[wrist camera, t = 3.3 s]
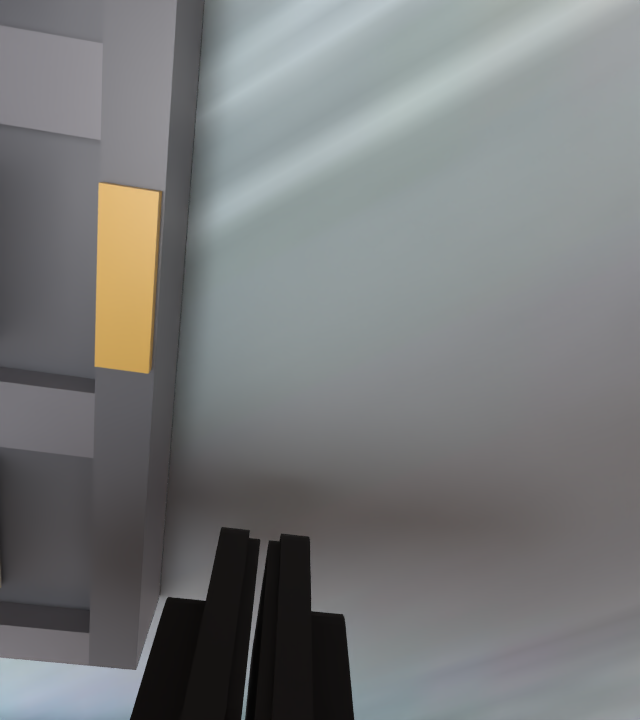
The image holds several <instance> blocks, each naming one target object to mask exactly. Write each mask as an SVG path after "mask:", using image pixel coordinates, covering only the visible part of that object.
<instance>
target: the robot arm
mask: <svg viewBox="0 0 640 720" xmlns="http://www.w3.org/2000/svg"><path fill="white" fill-rule="evenodd" d="M249 533H250V530H243V529H234V528H224V527H222V528H221V532H220V536H219V541H218V546H217V551H216V555H215V560H214V565H213V570H212V574H211V579H210V584H209V588H208V593H207V598H206V601H202V600H192V599H182V598H172V597H168V598H167V600H166V602H165V605H164V608H163V612H162V615H161V618H160V622H159V625H158V628H157V632H156V635H155V638H154V641H153V645H152V648H151V651H150V655H149V658H148V661H147V665H146V668H145V671H144V675H143V678H142V681H141V685H140V688H139V691H138V695H137V698H136V701H135V705H134V708H133V711H132V715H131V718H130V720H241V716H242V707H243V697H244V688H245V678H246V669H247V659H248V650H249V641H250V631H251V622H252V612H253V603H254V593H255V584H256V574H257V565H258V555H259V546H260V539H252V538H249ZM245 720H354V712H353V701H352V691H351V680H350V669H349V658H348V647H347V637H346V626H345V619H344V616H343V614H333V613H323V612H313V611H311V574H310V538H309V537H306V536H297V535H288V534H281V536H280V542H279V541H270V540H269V544H268V550H267V557H266V563H265V570H264V576H263V583H262V590H261V596H260V603H259V609H258V616H257V623H256V629H255V636H254V642H253V649H252V657H251V666H250V675H249V686H248V696H247V706H246V716H245Z"/></svg>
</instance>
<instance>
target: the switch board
mask: <svg viewBox="0 0 640 720" xmlns="http://www.w3.org/2000/svg"><path fill="white" fill-rule="evenodd" d="M203 11H204V0H0V566H1V588H0V657H2V658H12V659H23V660H34V661H45V662H56V663H67V664H78V665H88V666H99V667H110V668H121V669H132V670H136V669H137V665H138V662H139V659H140V656H141V653H142V650H143V647H144V644H145V641H146V638H147V634H148V631H149V628H150V625H151V622H152V619H153V616H154V613H155V610H156V606H157V603H158V600H159V595H160V582H161V569H162V555H163V542H164V529H165V515H166V502H167V489H168V476H169V462H170V449H171V436H172V423H173V409H174V396H175V383H176V370H177V356H178V343H179V330H180V317H181V303H182V290H183V277H184V263H185V250H186V237H187V224H188V210H189V197H190V184H191V171H192V157H193V144H194V131H195V118H196V104H197V91H198V78H199V64H200V51H201V38H202V25H203Z"/></svg>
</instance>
